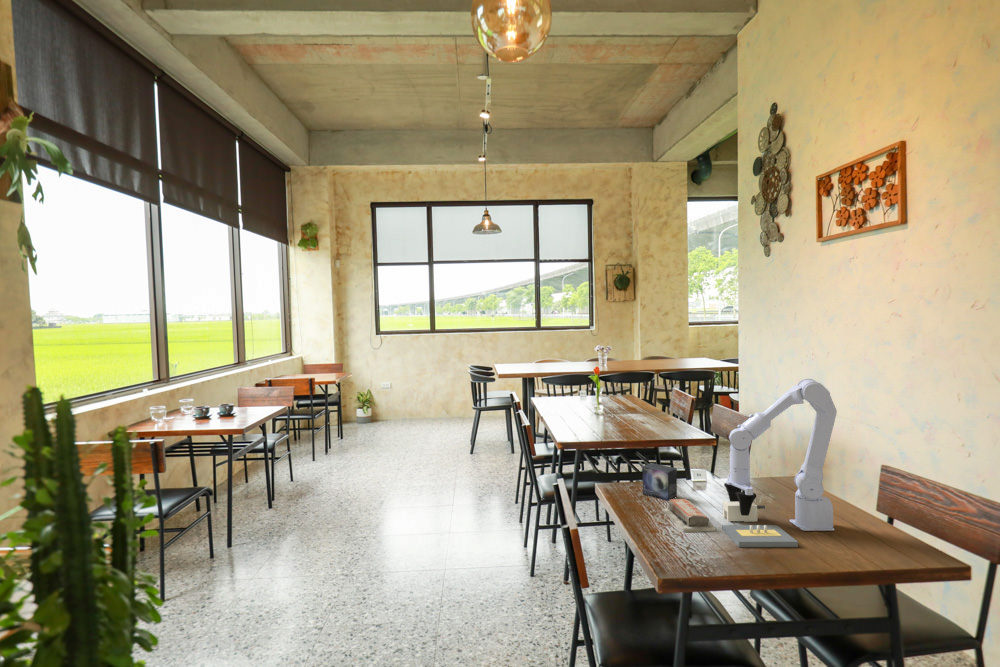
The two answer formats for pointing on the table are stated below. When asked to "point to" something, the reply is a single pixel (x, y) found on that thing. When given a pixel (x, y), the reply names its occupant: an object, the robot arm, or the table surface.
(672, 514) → the packaged product
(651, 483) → the small box
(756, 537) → the board
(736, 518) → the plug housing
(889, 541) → the table surface
